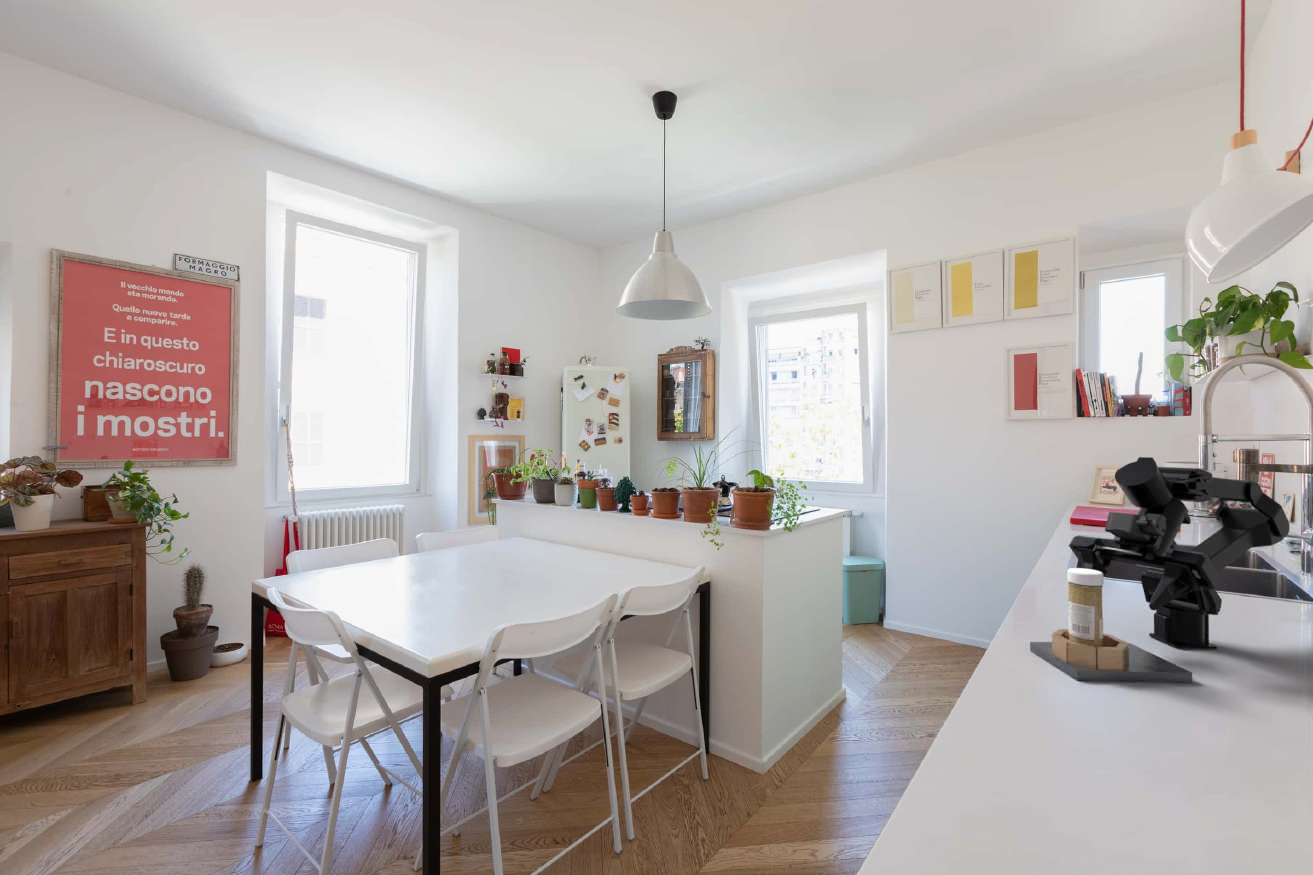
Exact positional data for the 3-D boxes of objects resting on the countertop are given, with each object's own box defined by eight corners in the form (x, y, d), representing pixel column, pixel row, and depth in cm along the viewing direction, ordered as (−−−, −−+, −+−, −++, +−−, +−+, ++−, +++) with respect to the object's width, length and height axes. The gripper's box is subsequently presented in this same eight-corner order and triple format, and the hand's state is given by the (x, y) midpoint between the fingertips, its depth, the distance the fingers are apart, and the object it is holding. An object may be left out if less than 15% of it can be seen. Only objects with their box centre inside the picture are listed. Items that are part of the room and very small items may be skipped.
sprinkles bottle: (1111, 660, 90) (1110, 572, 90) (1089, 663, 88) (1088, 574, 88) (1082, 649, 94) (1081, 566, 94) (1060, 652, 93) (1059, 568, 93)
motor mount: (1130, 652, 97) (1130, 625, 97) (1192, 682, 85) (1192, 651, 85) (1030, 650, 98) (1029, 623, 98) (1076, 680, 86) (1076, 649, 86)
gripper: (1074, 489, 104) (1035, 557, 100) (1207, 499, 87) (1167, 582, 83) (1101, 530, 107) (1064, 598, 103) (1235, 547, 90) (1197, 629, 86)
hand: (1117, 600), depth 93 cm, fingers open, 9 cm apart
